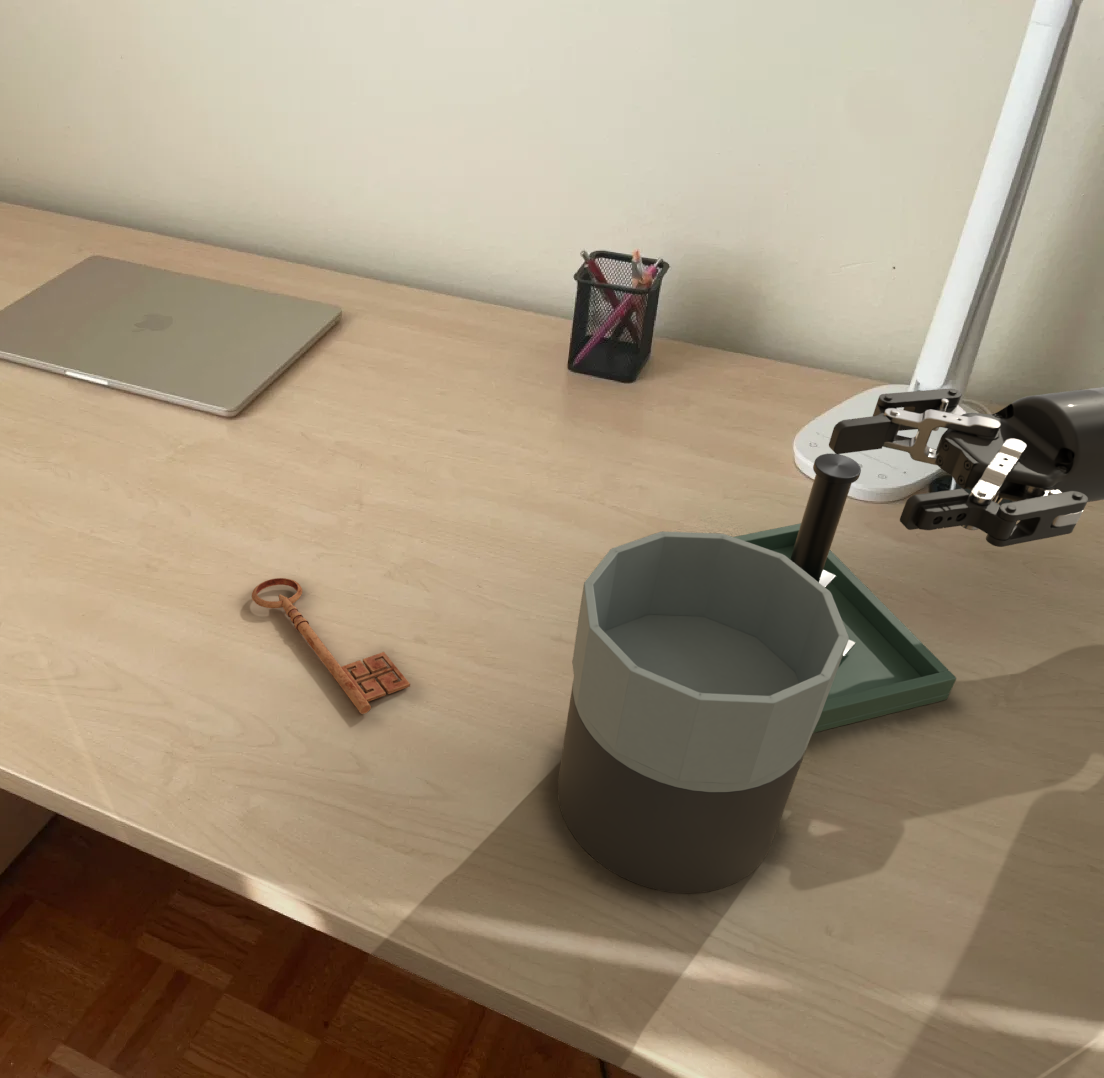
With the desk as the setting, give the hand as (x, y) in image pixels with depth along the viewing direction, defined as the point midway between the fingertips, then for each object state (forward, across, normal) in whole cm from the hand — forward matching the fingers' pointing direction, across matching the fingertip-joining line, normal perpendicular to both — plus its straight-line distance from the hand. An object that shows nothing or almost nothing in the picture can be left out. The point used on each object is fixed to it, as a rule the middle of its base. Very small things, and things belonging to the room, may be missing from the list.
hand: (868, 474), depth 68 cm
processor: (+17, +12, +14) cm, 25 cm away
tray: (+3, 0, +14) cm, 14 cm away
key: (+35, -6, +14) cm, 38 cm away
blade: (+2, 0, +13) cm, 13 cm away
